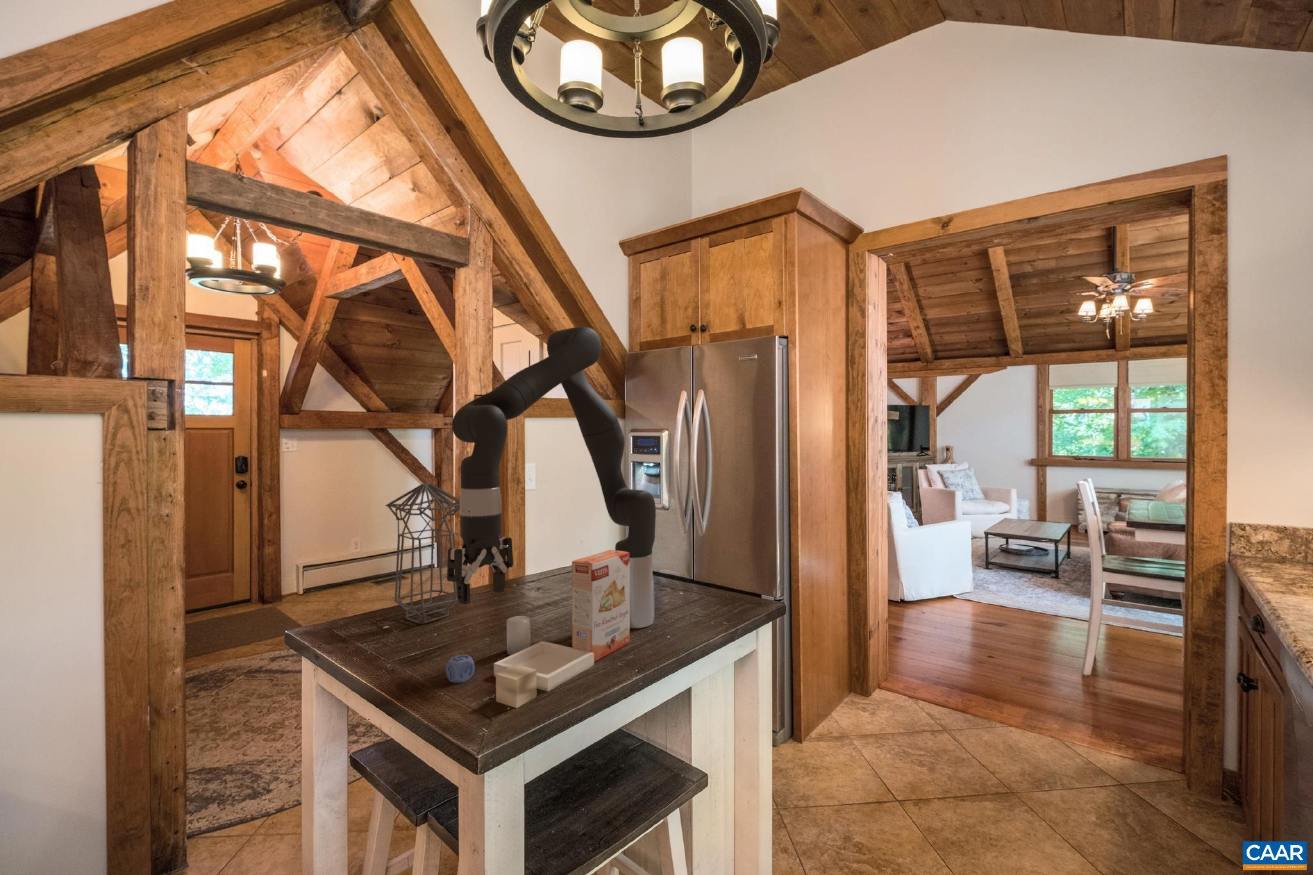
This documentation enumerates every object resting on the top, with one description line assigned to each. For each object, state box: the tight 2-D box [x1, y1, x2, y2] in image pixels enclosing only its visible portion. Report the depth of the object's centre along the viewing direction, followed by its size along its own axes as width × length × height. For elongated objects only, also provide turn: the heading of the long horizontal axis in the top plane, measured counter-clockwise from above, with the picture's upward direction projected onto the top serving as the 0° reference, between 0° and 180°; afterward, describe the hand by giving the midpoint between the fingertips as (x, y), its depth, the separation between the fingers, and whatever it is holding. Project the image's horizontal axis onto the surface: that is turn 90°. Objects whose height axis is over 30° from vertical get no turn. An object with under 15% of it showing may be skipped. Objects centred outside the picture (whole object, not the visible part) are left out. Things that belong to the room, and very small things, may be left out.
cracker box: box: [571, 549, 631, 663], centre depth 127 cm, size 14×6×21 cm, turn 148°
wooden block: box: [495, 664, 537, 709], centre depth 105 cm, size 5×5×5 cm
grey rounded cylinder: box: [506, 615, 532, 656], centre depth 128 cm, size 5×5×7 cm
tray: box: [493, 640, 595, 692], centre depth 118 cm, size 14×14×2 cm
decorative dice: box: [445, 654, 475, 684], centre depth 114 cm, size 4×4×4 cm
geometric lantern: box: [385, 482, 460, 625], centre depth 153 cm, size 16×16×35 cm
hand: (482, 597), depth 110 cm, fingers open, 8 cm apart
